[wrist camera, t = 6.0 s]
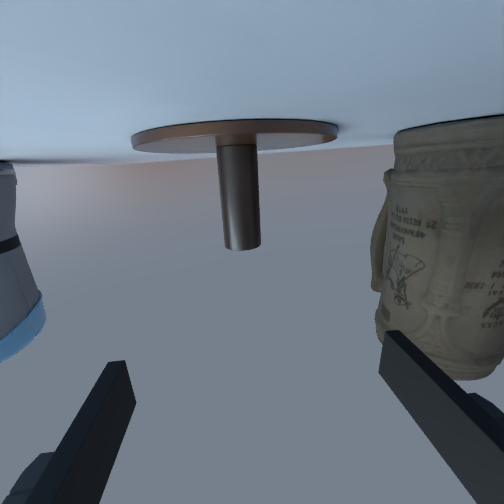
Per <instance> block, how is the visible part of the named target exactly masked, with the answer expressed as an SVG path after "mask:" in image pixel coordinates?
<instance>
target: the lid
mask: <svg viewBox="0 0 504 504" xmlns="http://www.w3.org/2000/svg"><path fill="white" fill-rule="evenodd" d="M337 131H338V129H337V127H336V126H334V125H331V124H328V123H323V122H315V121H304V120H234V121H217V122H203V123H193V124H184V125H176V126H169V127H163V128H157V129H152V130H148V131H144V132H141V133H138V134H136V135H133V136H132V137H131V142H132V147H133V149H134V150H137V151H142V152H152V153H217V163H218V175H219V186H220V196H221V208H222V219H223V229H224V241H225V247H226V248H227V249H230V250H237V251H243V250H251V249H254V248H257V247H259V246H260V245H261V233H260V208H259V185H258V160H257V151H261V150H273V149H284V148H294V147H302V146H310V145H316V144H322V143H326V142H330V141H333V140H335V139H336V138H337Z"/></svg>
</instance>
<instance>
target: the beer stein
mask: <svg viewBox="0 0 504 504" xmlns="http://www.w3.org/2000/svg"><path fill="white" fill-rule="evenodd" d="M393 139H394V153H395V164H394V169H389V170H387V171H386V172H385V173H384V179H383V181H384V183H385V185H386V187H387V196H386V199H385V202H384V205H383V207H382V209H381V211H380V214H379V216H378V218H377V221H376V224H375V226H374V230H373V234H372V237H371V246H370V252H371V266H372V281H371V288H372V289H373V291H376V292H381V296H380V301H379V305H378V309H377V311H376V314H375V323H376V333H377V336H378V339H379V340H380V342H381V343H382V345H383V340H384V334H385V331H391V330H400V331H401V332H402V333H403V334H404V335H405V336H406V337H407V338H408V339H409V340H410V341H411V342H412V343H414V344H415V345H416V346H417V347H418V348H419V349H420V350H421V351H422V352H423V353H424V354H425V355H426V356H428V357H429V358H430V359H431V360H432V361H433V362H434V363H435V364H436V365H437V366H438V367H439V368H440V369H441V370H443V371H444V372H445V373H446V374H447V375H448V376H449V377H450V378H451V379H452V380H477V379H481V378H485V377H487V376H489V375H490V374H491V373H492V372H493V371H494V370H495V368H496V366H497V365H498V364H500V363H501V361H502V360H503V358H504V116H498V117H489V118H480V119H471V120H462V121H455V122H448V123H441V124H435V125H430V126H424V127H419V128H413V129H407V130H404V131H401V132H398V133H397V134H395V136H394V138H393Z"/></svg>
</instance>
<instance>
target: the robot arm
mask: <svg viewBox="0 0 504 504" xmlns="http://www.w3.org/2000/svg"><path fill="white" fill-rule="evenodd" d="M15 175H16V174H15V171H14V168H13V165H12V164H11V163H2V162H0V363H2V362H3V361H5V360H7V359H9V358H10V357H11V356H13V355H15V354H16V353H18V352H19V351H20V350H22V349H23V348H24V347H25V346H27V345H28V344H29V343H30V342H31V341H32V340H33V339H34V337H35V336H37V335H38V334H39V333H40V331H41V330H42V328H43V326H44V324H45V321H46V313H45V309H44V306H43V302H42V294H41V292H40V291H39V290H38V289H37V286H36V284H35V281H34V278H33V276H32V273H31V270H30V268H29V265H28V262H27V259H26V256H25V254H24V251H23V248H22V245H21V243H20V240H19V237H18V234H17V232H16V229H15V208H16V185H17V179H16V176H15ZM379 374H380V375H381V376H382V378H383V379H384V380H385V382H386V383H387V384H388V386H389V387H390V388H391V390H392V391H393V392H394V394H395V395H396V396H397V398H398V399H399V400H400V401H401V403H402V404H403V406H404V407H405V408H406V410H407V411H408V412H409V413H410V415H411V416H412V418H413V419H414V420H415V422H416V423H417V424H418V426H419V427H420V428H421V429H422V431H423V432H424V434H425V435H426V436H427V437H428V439H429V440H430V442H431V443H432V444H433V446H434V447H435V448H436V450H437V451H438V452H439V454H440V455H441V456H442V458H443V459H444V460H445V462H446V463H447V464H448V465H449V467H450V468H451V469H452V471H453V472H454V473H455V475H456V476H457V478H458V479H459V480H460V482H461V483H462V484H463V485H464V487H465V488H466V489H467V491H468V492H469V493H470V495H471V496H472V497H473V499H474V500H475V501H476V503H477V504H504V413H503V412H502V411H501V410H499V409H498V408H497V407H496V406H495V405H494V404H493V403H491V402H490V401H488V400H486V399H485V398H483V397H481V396H480V395H478V394H476V393H469V394H467V393H466V392H465V391H464V390H463V389H462V388H461V387H460V386H459V385H458V384H457V383H455V382H454V381H453V380H452V379H451V378H450V377H449V376H448V375H447V374H446V373H445V372H444V371H443V370H441V369H440V368H439V367H438V366H437V365H436V364H435V363H434V362H433V361H432V360H431V359H430V358H429V357H428V356H426V355H425V354H424V353H423V352H422V351H421V350H420V349H419V348H418V347H417V346H416V345H415V344H414V343H412V342H411V341H410V340H409V339H408V338H407V337H406V336H405V335H404V334H403V333H402V332H401V331H400V330H391V331H385V334H384V340H383V347H382V353H381V359H380V366H379ZM135 405H136V400H135V396H134V392H133V388H132V385H131V381H130V377H129V374H128V370H127V366H126V362H125V360H122V361H113V362H108V363H107V365H106V367H105V368H104V370H103V372H102V373H101V375H100V377H99V378H98V380H97V382H96V383H95V385H94V387H93V388H92V390H91V392H90V394H89V395H88V397H87V399H86V400H85V402H84V404H83V405H82V407H81V409H80V410H79V412H78V414H77V416H76V417H75V419H74V420H73V422H72V424H71V426H70V427H69V429H68V431H67V433H66V434H65V436H64V437H63V439H62V441H61V442H60V444H59V446H58V447H57V449H56V451H55V452H49V453H41V454H40V455H39V456H38V457H37V458H36V459H35V460H34V461H33V462H32V463H31V464H30V465H29V466H28V467H27V468H26V469H25V470H24V471H23V473H22V474H21V475H20V477H19V479H18V480H17V481H16V483H15V485H14V486H13V488H12V489H11V491H10V494H9V495H8V496H7V497H6V498H5V500H4V501H3V503H2V504H99V502H100V500H101V497H102V494H103V491H104V489H105V486H106V483H107V481H108V478H109V475H110V473H111V470H112V467H113V465H114V462H115V459H116V457H117V454H118V451H119V449H120V445H121V443H122V440H123V438H124V435H125V432H126V430H127V427H128V424H129V421H130V419H131V416H132V414H133V411H134V408H135Z"/></svg>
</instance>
